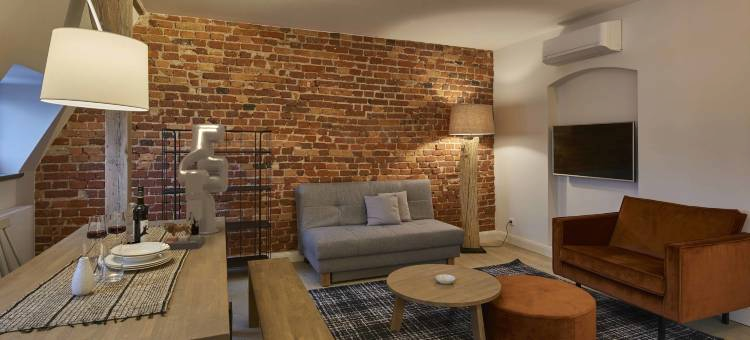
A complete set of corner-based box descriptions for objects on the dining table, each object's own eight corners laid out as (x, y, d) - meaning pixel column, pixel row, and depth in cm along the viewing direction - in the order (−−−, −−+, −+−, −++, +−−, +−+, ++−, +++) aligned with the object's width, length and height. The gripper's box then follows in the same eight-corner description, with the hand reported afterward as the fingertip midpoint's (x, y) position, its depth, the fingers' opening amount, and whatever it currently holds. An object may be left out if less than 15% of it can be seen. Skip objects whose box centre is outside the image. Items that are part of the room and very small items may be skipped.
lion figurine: (164, 240, 214) (163, 222, 214) (163, 238, 219) (163, 221, 218) (195, 237, 222) (195, 220, 221) (194, 235, 226) (193, 218, 226)
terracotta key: (169, 240, 204) (169, 236, 204) (178, 240, 204) (178, 235, 204) (167, 242, 200) (166, 238, 200) (175, 242, 200) (175, 237, 200)
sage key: (192, 240, 205) (192, 235, 205) (201, 239, 206) (200, 235, 206) (190, 242, 201) (189, 237, 201) (198, 241, 202) (198, 237, 202)
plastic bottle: (136, 244, 206) (134, 204, 204) (122, 244, 206) (120, 203, 204) (143, 241, 212) (142, 202, 211) (130, 241, 212) (128, 202, 211)
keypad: (169, 243, 207) (169, 237, 207) (204, 242, 209) (204, 236, 209) (161, 250, 195) (161, 243, 195) (198, 248, 197) (198, 242, 197)
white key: (181, 240, 205) (181, 235, 204) (189, 240, 205) (189, 235, 205) (178, 242, 201) (178, 237, 200) (187, 242, 201) (187, 237, 201)
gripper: (190, 195, 209) (191, 232, 210) (181, 198, 194) (182, 238, 195) (206, 195, 210) (207, 231, 211) (198, 198, 195) (199, 237, 196)
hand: (195, 234), depth 203 cm, fingers closed
